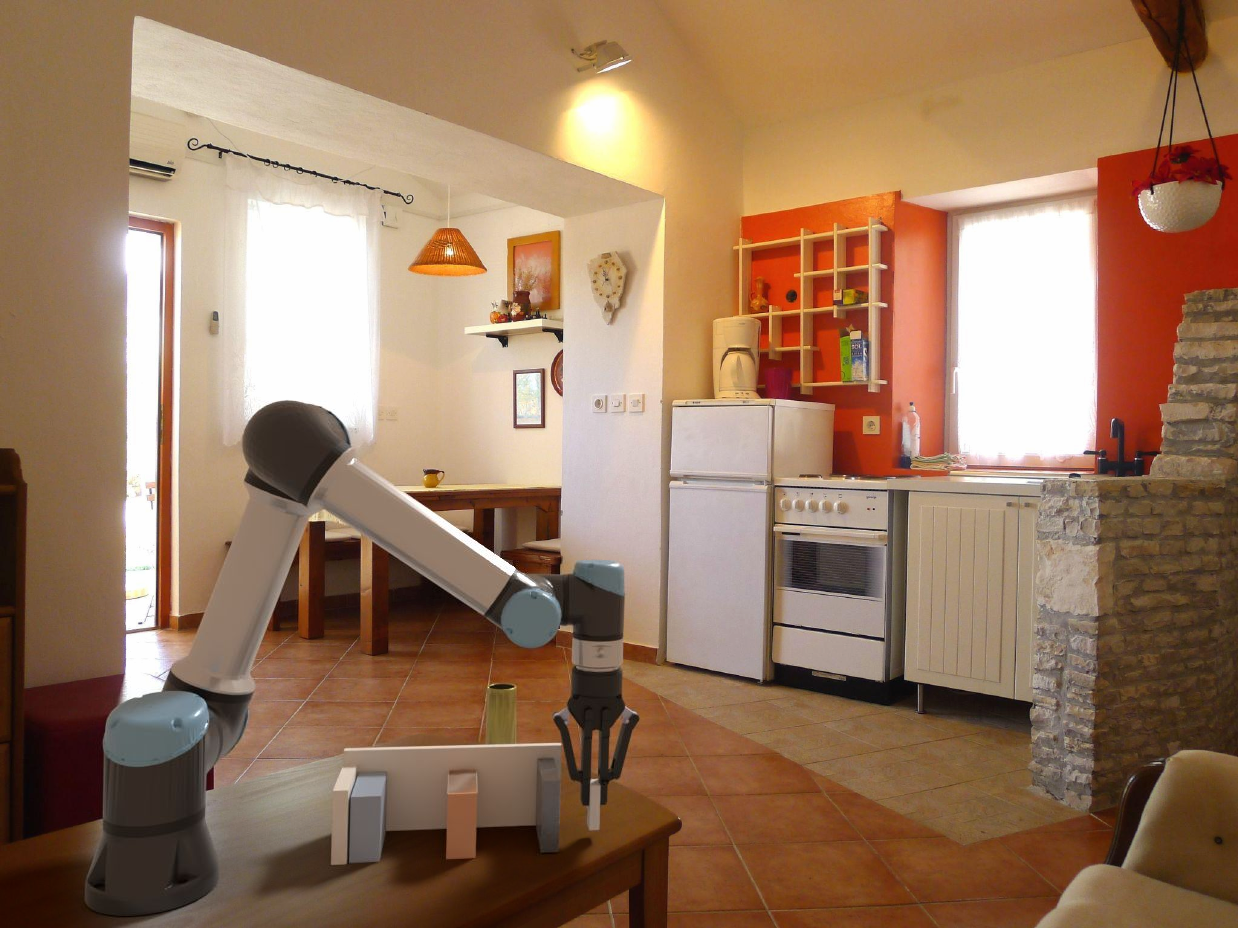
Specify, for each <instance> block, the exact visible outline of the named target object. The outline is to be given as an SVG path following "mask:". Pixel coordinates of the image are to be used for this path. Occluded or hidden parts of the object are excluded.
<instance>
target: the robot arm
mask: <svg viewBox="0 0 1238 928" xmlns="http://www.w3.org/2000/svg"><path fill="white" fill-rule="evenodd" d="M241 447H242V454H243V457H244V460H245V461H246V463H247V465H248V469H247V471H246V474H245V476H244V479H243V484H244V486H245V489H246V491H247V493H248V497H249V498H248V500H247V502H246V504H245V508H244V511H243V513H242V516H241V518H240V522H239V523H238V527H237V529H236V531H235V535H234V537H233V539H232V542H231V544H230V546H229V550H228V552H227V553H226V554H227V555H226V557H225V559H224V563H223V565H222V567H221V570H220V572H219V575H218V578H217V579H216V581H215V585H214V588H213V590H212V593H211V595H210V597H209V598H210V599H209V600H208V603H207V606H206V608H205V610H204V612H203V616H202V618H201V620H200V623H199V626H198V628H197V631H196V634H195V637H194V639H193V641H192V644H191V647H190V650H189V652H188V654H187V655H186V656H185V657H183V658H180V659H179V660H176V661H174V662H173V663H172V664H171V667H170V669H169V672H168V674H167V676H166V679H165V682H164V684H163V687H162V690H161V691H156V692H150V693H145V694H142V696H141V697H140V696H139V697H137V696H136V697H132V698H129V699H127V700H126V701H123V702H122V703H120V704H119V705H117V706H116V707H114V709H112V710H111V712H110V713H109V715H108V716H107V718H106V723H105V730H104V731H105V732H104V733H103V738H102V748H103V779H102V780H103V785H102V788H103V789H102V790H103V791H102V796H103V797H102V833H101V837H100V840H99V842H98V845H97V847H96V850H95V854H94V856H93V859H92V861H91V865H90V867H89V869H88V873H87V875H86V877H85V881H84V904H86V906H87V907H88V908H89V909H91V911H94V912H96V913H99V914H104V915H110V916H117V917H118V916H120V917H125V916H126V917H129V916H130V917H131V916H143V915H150V914H157V913H160V912H161V913H162V912H166V911H170V910H173V909H177V908H179V907H182V906H186V905H188V904H190V903H192V902H195V901H197V900H199V899H201V898H202V897H204V896H205V895H208V893H209V892H211V891H212V890H213V889H214V888H215V887H216V885H217V884H218V882H219V877H220V875H219V874H220V873H219V872H220V860H219V857H218V854H217V851H216V848H215V845H214V841H213V839H212V836H211V833H210V831H209V827H208V824H207V821H206V820H207V819H206V807H207V806H206V803H207V802H206V801H207V797H206V795H207V775H208V773H209V772H210V771H211V770H212V769H213V768H214V767H215V765H216V764H218V762H219V761H221V760H222V759H223V758H224V757H226V756H227V755H228V754H230V753H231V752H232V751H233V750H234V748H235V747H236V745H238V744H239V742H240V741H241V739H242V738H243V735H244V734H245V731H246V729H247V726H248V722H249V716H250V703H251V701H252V698H253V695H254V693H255V690H256V682H255V680H254V679H253V676H252V675H251V669H252V667H253V665H254V662H255V660H256V657H257V655H258V651H259V649H260V646H261V643H262V641H263V638H264V637H265V633H266V631H267V628H268V626H269V624H270V621H271V618H272V616H273V613H274V611H275V608H276V605H277V602H278V601H279V598H280V595H281V593H282V590H283V587H284V585H285V582H286V579H287V577H288V575H289V571H290V569H291V566H292V565H293V561H294V559H295V556H296V554H297V551H298V548H299V546H300V544H301V541H302V538H303V535H304V533H305V530H306V528H307V525H308V522H309V520H310V517H312V516H313V515H315V514H317V513H319V512H321V511H324V510H325V511H326V512H328V513H329V514H331V516H333V517H335V518H337V519H338V520H339V521H341V522H343V523H344V524H346V525H347V526H348V527H351V528H352V529H353V530H355V531H356V532H357V533H359V534H361V535H363V536H364V537H365V538H366V539H368V540H370V541H371V542H373V543H374V544H375V545H377V546H378V547H380V548H382V549H383V550H384V551H386V552H388V553H389V554H391V555H392V556H393V557H395V558H397V559H398V560H399V561H400V562H403V563H404V564H405V565H407V566H409V567H410V568H411V569H413V570H415V571H416V572H417V573H419V574H420V575H421V576H423V577H425V578H426V579H428V580H430V581H431V582H432V583H434V584H436V585H437V586H438V587H440V588H442V589H443V590H444V591H446V592H447V593H449V594H451V595H452V596H453V597H455V598H456V599H458V600H459V601H461V602H462V603H464V604H465V605H467V606H468V607H470V609H471V608H472V609H473V610H474V611H476V612H477V613H478V614H480V615H482V616H483V617H484V618H486V619H487V620H488V621H490V623H493V624H494V625H495V626H497V627H499V628H500V629H501V630H502V631H503V632H504V634H505V635H506V637H507V638H508V639H509V640H510V641H511V642H513V643H514V644H515V645H517V646H519V647H521V648H526V649H535V648H541V647H542V646H544V645H547V644H548V643H550V641H551V640H553V638H555V636H556V635H557V633H558V630H559V628H560V626H562V627H567V626H571V627H572V639H571V641H572V643H571V644H572V645H571V646H572V647H571V662H572V664H573V665H574V666H573V667H572V668H571V673H570V674H571V677H570V679H571V680H570V683H571V685H570V697H569V699H568V701H567V703H566V707H565V708H563V709H561V710H560V711H559V712H558V711H555V712H553V713H552V719H553V722H554V724H555V726H556V727H557V729H558V731H559V734H560V738H561V745H562V748H563V753H564V757H565V762H566V766H567V771H568V773H569V774H568V775H569V777H570V780H571V781H573V782H575V781H576V782H579V783H580V794H579V795H580V797H579V800H580V802H581V805H582V806H585V807H586V808H587V809H586V810H587V811H586V815H587V816H586V824H587V828H588V830H589V831H599V830H600V822H601V820H600V817H601V816H600V815H601V808H600V807H601V806H605V805H607V803H608V791H609V790H608V785H609V783H610V782H611V781H613V780H619V779H620V777H621V776H622V772H623V768H624V764H625V760H626V756H627V752H628V748H629V745H630V741H631V738H632V733H633V731H634V729H635V727H636V726H637V725H638V723H639V722H640V716H639V714H638V713H637V711H636V710H634V709H632V710H631V709H630V708H628V707H627V706H626V703H625V701H624V698H623V675H624V674H623V673H624V672H623V671H624V670H623V669H622V668H621V667H620V666H621V665H623V663H624V625H625V624H624V623H625V601H626V599H625V598H626V591H625V588H626V587H625V568H624V566H623V565H622V564H621V563H620V562H618V561H615V560H610V559H583V560H577V561H576V562H575V564H574V566H573V570H572V573H567V574H566V573H565V574H564V573H563V574H554V573H551V574H550V573H548V574H547V573H524V572H521V571H520V570H518V569H516V568H515V567H514V566H513V565H511V564H509V563H508V562H507V561H506V560H504V559H502V558H501V557H500V556H498V555H497V554H495V553H494V552H493V551H491V550H489V549H488V548H486V547H485V546H484V545H482V544H480V543H479V542H478V541H476V540H475V539H473V538H472V537H470V536H469V535H468V534H466V533H464V532H463V531H461V530H460V529H459V528H457V527H455V526H454V525H453V524H451V523H450V522H448V521H447V520H446V519H444V518H443V517H441V516H439V515H438V514H437V513H436V512H434V511H433V510H431V509H430V508H428V507H427V506H425V505H423V504H422V503H420V502H419V501H418V500H417V499H415V498H413V497H412V496H411V495H409V494H407V493H406V492H404V491H403V490H402V489H400V488H399V487H397V486H396V485H395V484H393V483H392V482H390V481H388V480H387V479H386V478H384V477H382V476H381V475H380V474H378V473H377V472H375V471H374V470H373V469H371V468H369V466H367V465H365V464H364V463H362V462H361V461H360V460H358V458H357V457H358V456H357V452H356V449H355V448H354V447H353V446H352V440H351V436H350V433H349V431H348V429H347V427H346V426H345V424H344V422H343V421H342V420H341V419H340V418H339V417H338V416H337V415H336V414H335V413H333V412H332V411H331V410H328V409H326V408H325V407H323V406H321V405H316V404H313V403H305V402H303V401H299V400H298V401H297V400H289V399H286V400H279V401H274V402H271V403H268V404H266V405H264V406H263V407H261V408H259V409H258V410H257V411H256V412H255V413H253V415H252V416H251V417H250V419H249V420H248V422H247V424H246V426H245V428H244V430H243V434H242V444H241ZM570 716H572V718H573V719H574V720H575V722H576V724H578V726H579V728H580V729H581V730H580V731H581V749H580V751H581V752H580V769H578V767H577V763H576V759H575V754H574V750H573V749H574V748H573V744H572V743H573V742H572V739H571V735H570V731H569V728H568V725H570V723H571V720H570ZM620 717H621V718H620ZM619 718H620V719H621V722H622V724H621V727H620V729H619V733H618V737H617V742H616V746H615V750H614V752H613V753H614V754H613V757H612V760H611V765H610V764H609V763H610V762H609V761H610V737H611V728H612V727H614V725H615V724H616V723H617V721H618V719H619ZM594 731H598V752H597V753H598V754H597V755H598V756H597V757H598V758H597V778H594V779H593V778H591V777H592V749H593V748H592V747H593V746H592V745H593V744H592V743H593V732H594ZM609 765H610V767H609Z"/></svg>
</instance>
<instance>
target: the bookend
mask: <svg viewBox="0 0 1238 928" xmlns="http://www.w3.org/2000/svg"><path fill="white" fill-rule="evenodd" d="M559 815H560V816H561V792H560V778H559V775H558V771H557V768H556V764H555V761H554V758H542V759H537V787H536V825H535V828H536V829H535V830H536V834H537V840H538V845H539V849H540V853H558V852H559V848H560V846H559V845H560V824H559Z"/></svg>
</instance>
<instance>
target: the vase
mask: <svg viewBox="0 0 1238 928" xmlns="http://www.w3.org/2000/svg"><path fill="white" fill-rule="evenodd" d="M517 687H518V686H517V685H516V684H515V683H514V684H513V683H509V682H495V683H491V684H488V685H487V687H486V714H485V715H486V717H485V718H486V720H485V721H486V722H485V724H486V725H485V739H484V741H485V742H484V745H496V744H517V689H518V688H517Z"/></svg>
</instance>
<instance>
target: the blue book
mask: <svg viewBox="0 0 1238 928" xmlns="http://www.w3.org/2000/svg"><path fill="white" fill-rule="evenodd" d="M386 800H387V772H359V774H358V777H357V780H356V783H355V786H354V789H353V792H352V795H351V807H350V849H349V857H348V863H349V864H357V863H373V862H374V863H377V862H380V860H381V857H382V852H383V846H384V842H385V838H386V832H387V831H386Z"/></svg>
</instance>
